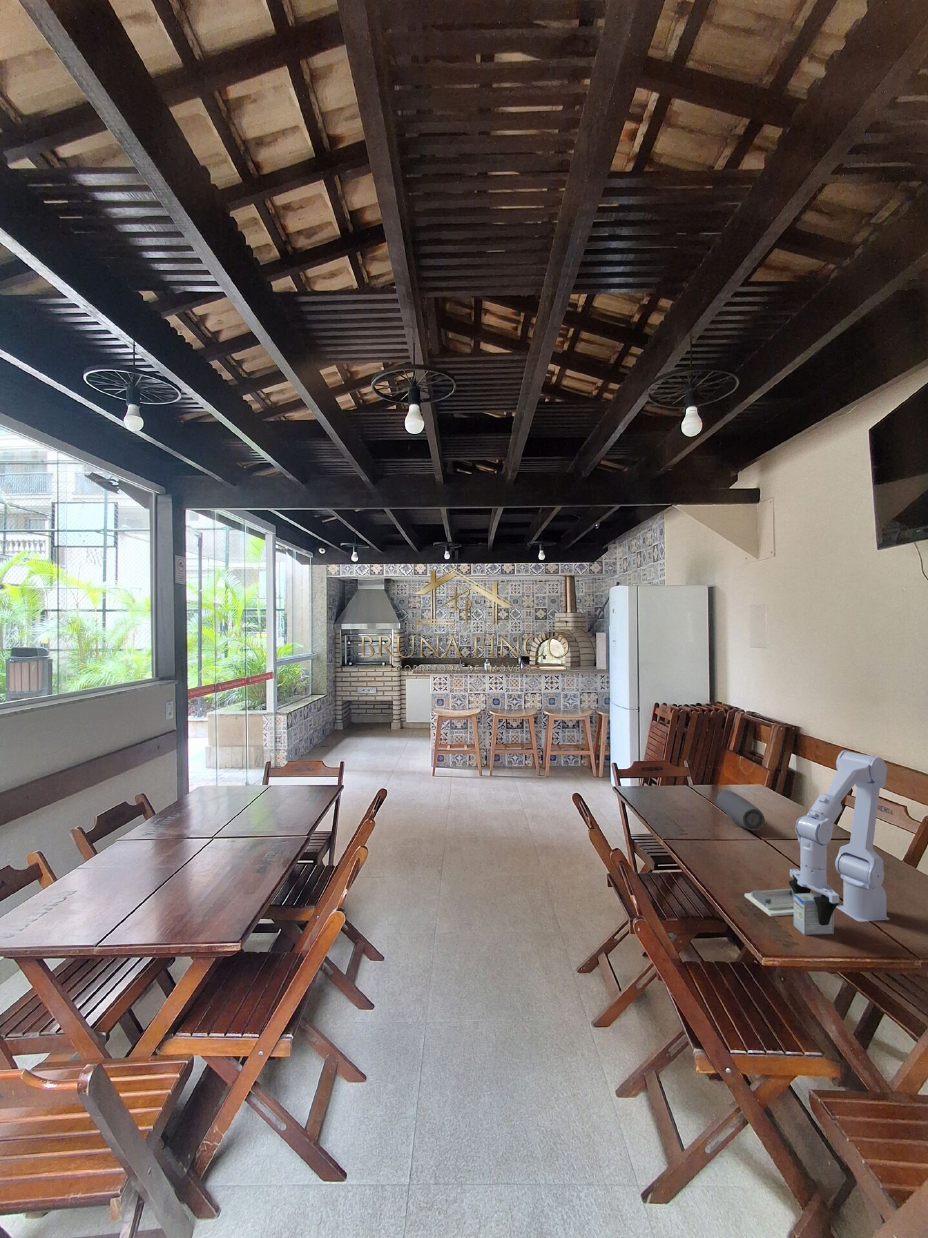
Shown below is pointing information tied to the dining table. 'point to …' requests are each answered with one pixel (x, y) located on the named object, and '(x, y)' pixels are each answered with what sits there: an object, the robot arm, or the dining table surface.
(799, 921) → the medicine box
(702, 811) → the dining table surface
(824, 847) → the robot arm
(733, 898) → the dining table surface
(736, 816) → the bluetooth speaker
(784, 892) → the white flat tray
